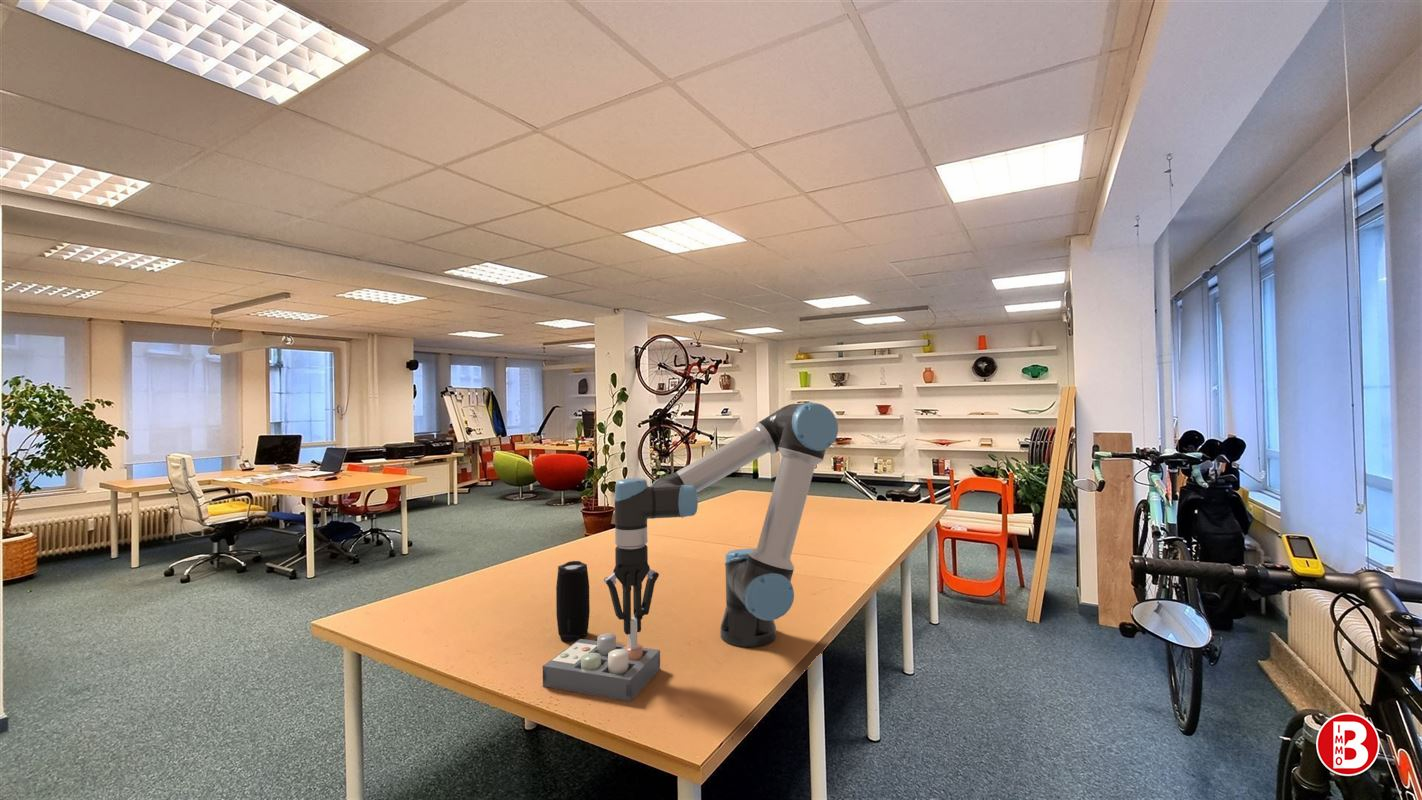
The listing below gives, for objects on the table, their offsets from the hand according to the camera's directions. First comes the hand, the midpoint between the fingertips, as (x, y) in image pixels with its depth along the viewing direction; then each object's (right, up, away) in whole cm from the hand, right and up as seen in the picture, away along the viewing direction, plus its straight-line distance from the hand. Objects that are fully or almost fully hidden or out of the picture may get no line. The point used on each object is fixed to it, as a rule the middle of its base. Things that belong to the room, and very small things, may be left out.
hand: (632, 646), depth 124 cm
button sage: (-9, -5, -4) cm, 11 cm away
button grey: (-6, -3, +2) cm, 8 cm away
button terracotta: (0, -5, 0) cm, 5 cm away
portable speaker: (-20, -8, +22) cm, 30 cm away
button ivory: (-2, -3, -7) cm, 8 cm away
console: (-7, -6, -2) cm, 9 cm away
